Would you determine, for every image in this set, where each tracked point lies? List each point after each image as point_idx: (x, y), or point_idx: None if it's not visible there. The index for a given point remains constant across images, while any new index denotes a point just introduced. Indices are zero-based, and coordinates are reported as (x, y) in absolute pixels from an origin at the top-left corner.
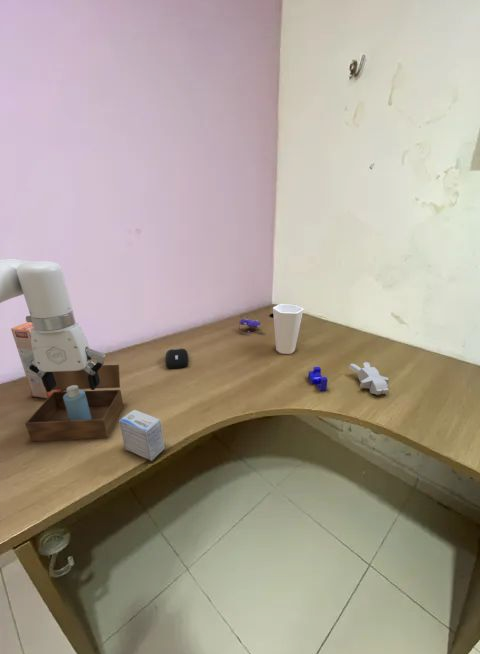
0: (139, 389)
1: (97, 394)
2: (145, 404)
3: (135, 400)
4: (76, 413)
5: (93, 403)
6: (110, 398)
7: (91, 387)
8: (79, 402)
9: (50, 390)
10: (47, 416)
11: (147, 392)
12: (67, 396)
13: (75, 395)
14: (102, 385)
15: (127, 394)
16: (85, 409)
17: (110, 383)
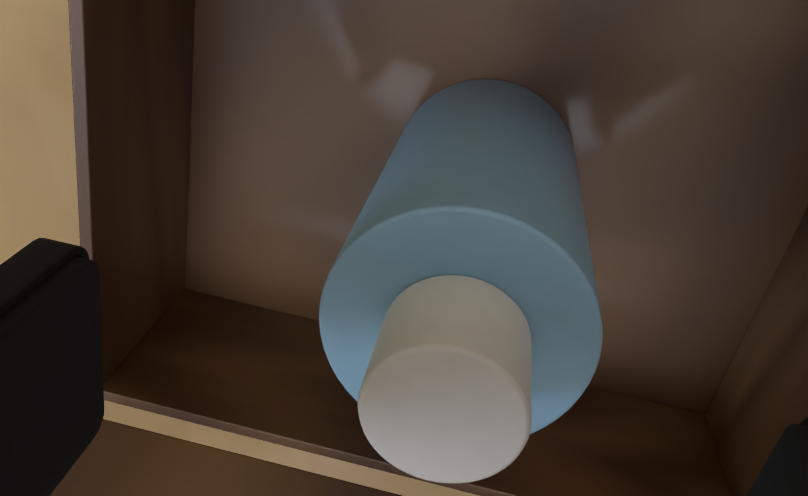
0: None
1: (329, 416)
2: (11, 255)
3: None
4: (467, 128)
5: None
6: (235, 355)
7: (38, 265)
8: (387, 197)
9: (793, 437)
10: (794, 288)
11: None
12: (540, 323)
13: (417, 293)
14: (232, 484)
15: (191, 426)
16: (380, 176)
17: (138, 482)
